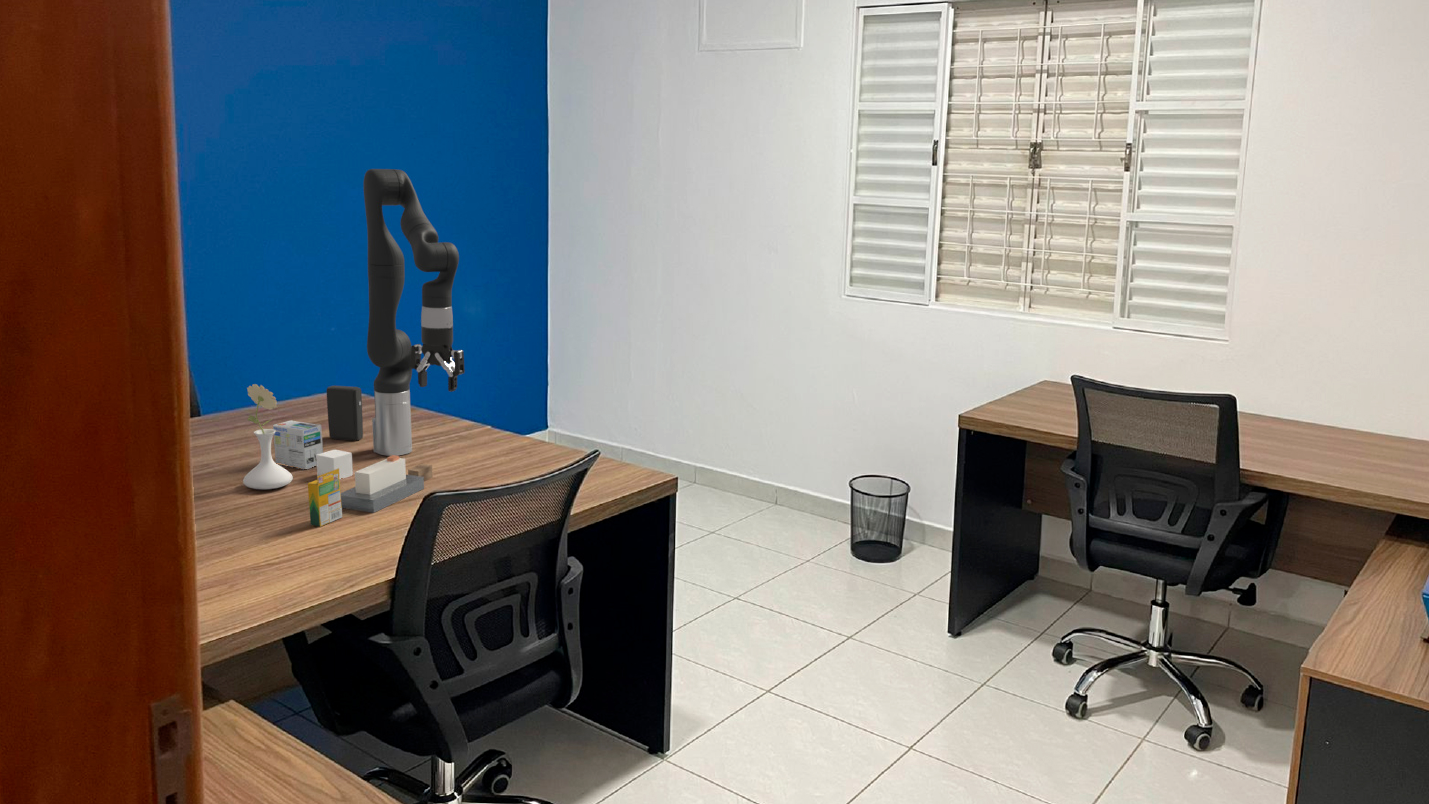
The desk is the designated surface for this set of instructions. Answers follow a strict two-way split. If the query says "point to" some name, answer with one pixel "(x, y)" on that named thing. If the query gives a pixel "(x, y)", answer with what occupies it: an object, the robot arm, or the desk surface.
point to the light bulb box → (297, 443)
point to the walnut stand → (421, 471)
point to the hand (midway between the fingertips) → (437, 388)
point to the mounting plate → (382, 495)
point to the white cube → (335, 463)
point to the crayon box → (325, 499)
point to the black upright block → (345, 412)
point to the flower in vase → (265, 447)
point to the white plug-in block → (380, 475)
